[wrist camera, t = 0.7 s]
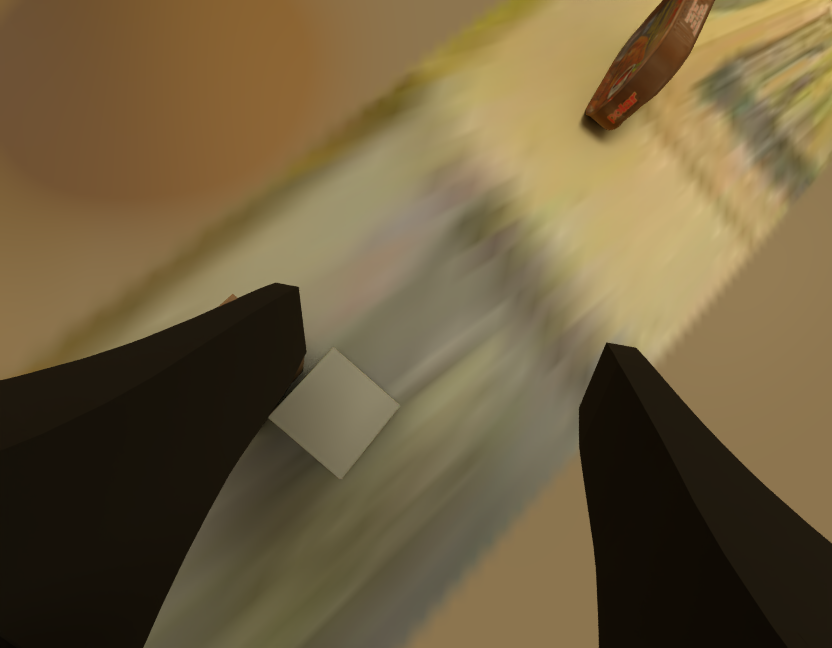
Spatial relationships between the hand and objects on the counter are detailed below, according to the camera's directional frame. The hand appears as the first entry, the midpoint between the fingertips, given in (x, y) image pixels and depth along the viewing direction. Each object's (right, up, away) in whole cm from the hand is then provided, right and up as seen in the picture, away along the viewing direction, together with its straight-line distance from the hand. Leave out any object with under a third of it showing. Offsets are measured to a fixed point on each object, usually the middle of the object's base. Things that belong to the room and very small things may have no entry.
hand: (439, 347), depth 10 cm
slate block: (-6, -5, +15) cm, 17 cm away
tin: (+18, +22, +29) cm, 41 cm away
